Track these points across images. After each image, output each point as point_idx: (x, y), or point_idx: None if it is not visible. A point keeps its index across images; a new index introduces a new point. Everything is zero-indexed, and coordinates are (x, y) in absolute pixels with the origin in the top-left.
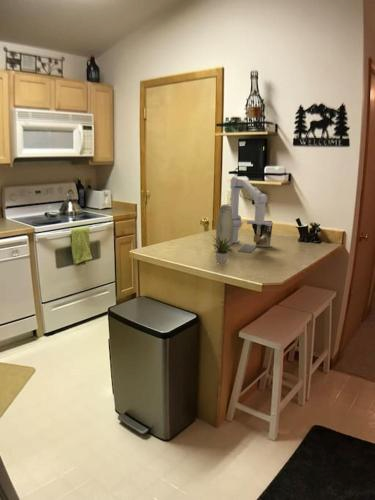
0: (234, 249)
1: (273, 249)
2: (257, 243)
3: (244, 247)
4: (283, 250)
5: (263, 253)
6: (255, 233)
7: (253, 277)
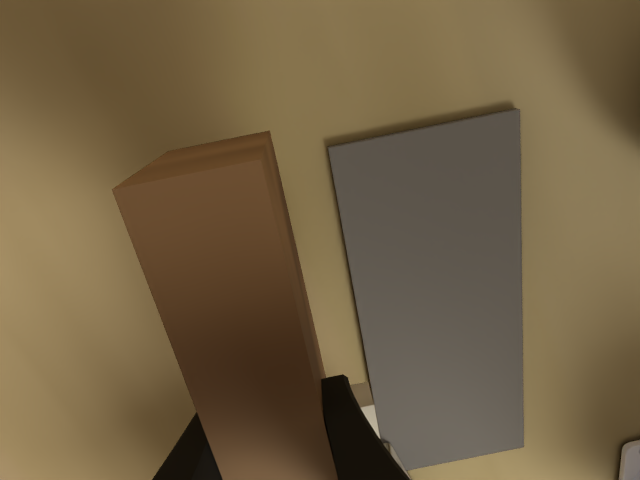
0: (583, 181)
1: None
2: None
3: (487, 320)
4: (67, 477)
5: None
6: (338, 424)
7: None
